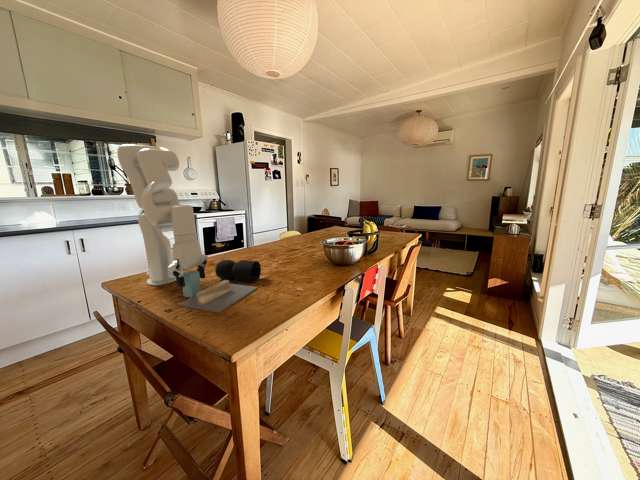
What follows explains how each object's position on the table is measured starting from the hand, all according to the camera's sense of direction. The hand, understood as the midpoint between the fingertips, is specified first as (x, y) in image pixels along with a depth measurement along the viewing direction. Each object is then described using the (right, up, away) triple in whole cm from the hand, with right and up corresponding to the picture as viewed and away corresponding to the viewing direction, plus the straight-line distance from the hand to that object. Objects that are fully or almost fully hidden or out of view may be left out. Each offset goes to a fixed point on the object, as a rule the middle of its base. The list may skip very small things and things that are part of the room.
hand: (192, 282), depth 97 cm
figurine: (+12, -2, +17) cm, 21 cm away
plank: (+10, -6, -2) cm, 12 cm away
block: (0, -5, +1) cm, 5 cm away
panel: (+12, -5, -1) cm, 13 cm away
